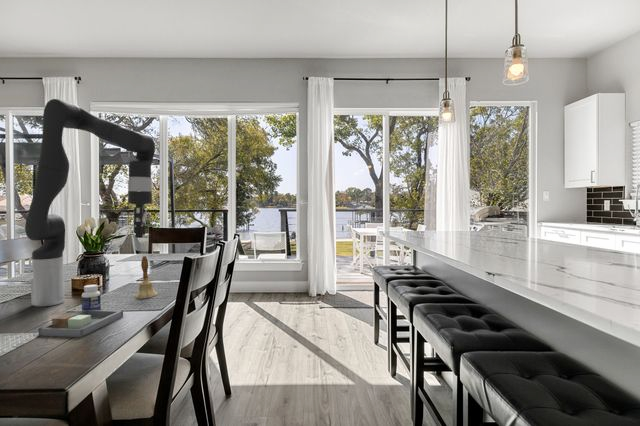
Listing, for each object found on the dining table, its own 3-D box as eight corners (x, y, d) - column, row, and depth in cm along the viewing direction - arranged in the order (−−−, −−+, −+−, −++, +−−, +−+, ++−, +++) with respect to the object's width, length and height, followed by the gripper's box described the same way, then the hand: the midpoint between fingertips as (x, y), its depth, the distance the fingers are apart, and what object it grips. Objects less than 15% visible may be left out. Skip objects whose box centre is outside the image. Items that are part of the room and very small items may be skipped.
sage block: (68, 332, 106) (67, 319, 106) (79, 328, 110) (78, 314, 110) (81, 333, 105) (80, 319, 105) (91, 328, 109) (91, 315, 109)
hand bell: (142, 299, 144) (141, 258, 143) (130, 296, 148) (129, 256, 148) (161, 294, 151) (160, 255, 150) (149, 292, 155) (148, 254, 155)
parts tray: (38, 337, 104) (38, 328, 104) (86, 317, 122) (86, 309, 122) (80, 339, 103) (80, 330, 103) (123, 318, 121) (122, 310, 121)
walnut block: (52, 332, 107) (51, 318, 106) (63, 327, 111) (63, 314, 110) (65, 332, 106) (64, 318, 106) (75, 328, 110) (75, 314, 110)
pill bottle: (92, 317, 122) (91, 287, 122) (78, 316, 123) (77, 287, 123) (104, 312, 127) (103, 284, 127) (91, 311, 128) (90, 283, 128)
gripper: (131, 190, 136) (131, 234, 137) (125, 189, 123) (125, 238, 123) (153, 190, 139) (153, 234, 139) (150, 190, 125) (150, 238, 126)
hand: (140, 236), depth 131 cm, fingers open, 8 cm apart
